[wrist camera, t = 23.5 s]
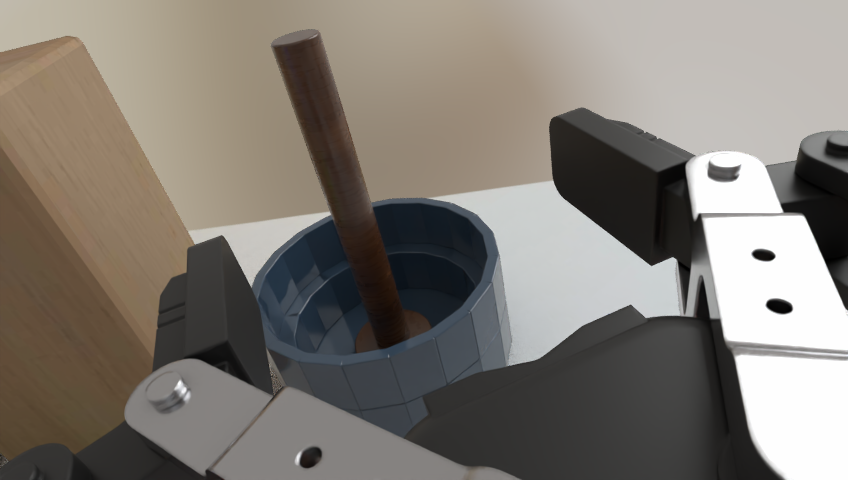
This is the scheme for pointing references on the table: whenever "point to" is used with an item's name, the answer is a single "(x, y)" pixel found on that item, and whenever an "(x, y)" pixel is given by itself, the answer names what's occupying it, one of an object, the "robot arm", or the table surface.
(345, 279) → the bowl
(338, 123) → the stirring stick
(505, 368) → the robot arm
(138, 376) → the wooden block
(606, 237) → the table surface
